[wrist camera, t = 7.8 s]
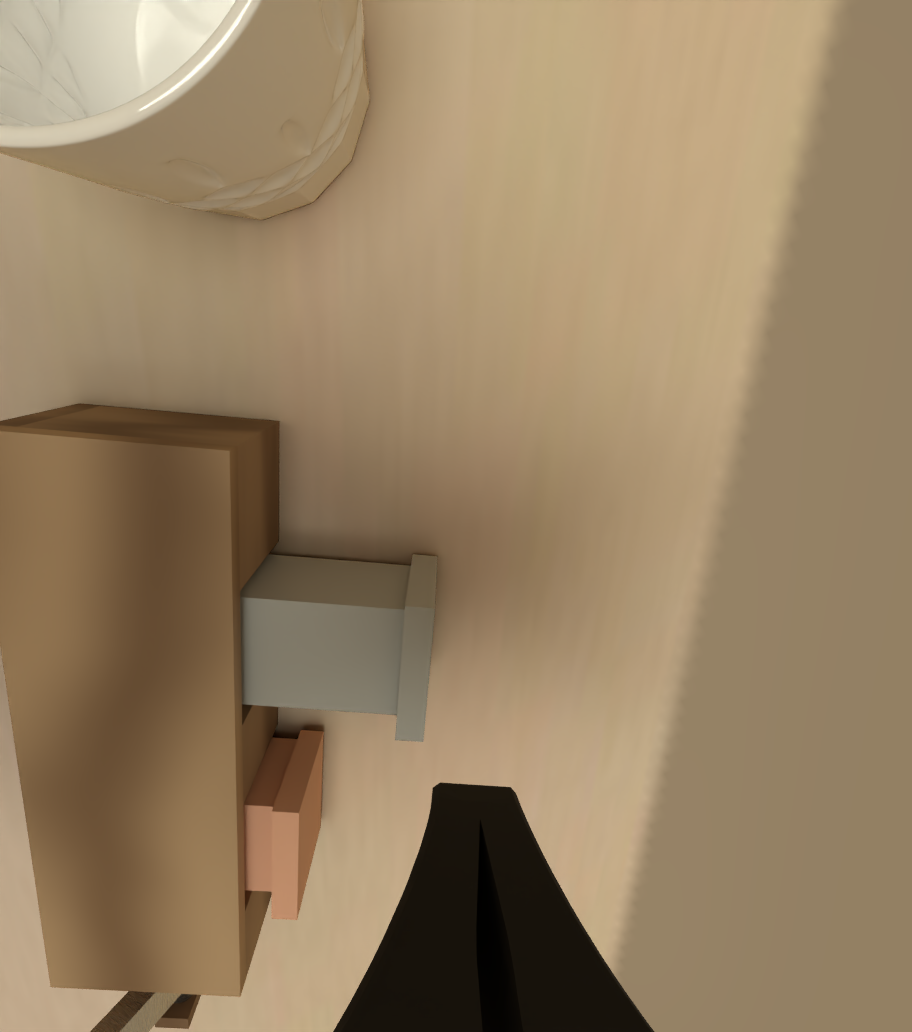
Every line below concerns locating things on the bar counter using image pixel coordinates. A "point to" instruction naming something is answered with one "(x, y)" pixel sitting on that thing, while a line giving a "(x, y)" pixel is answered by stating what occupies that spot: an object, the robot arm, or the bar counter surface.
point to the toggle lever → (138, 1011)
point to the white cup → (187, 96)
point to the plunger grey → (340, 637)
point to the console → (136, 687)
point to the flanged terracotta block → (284, 820)
